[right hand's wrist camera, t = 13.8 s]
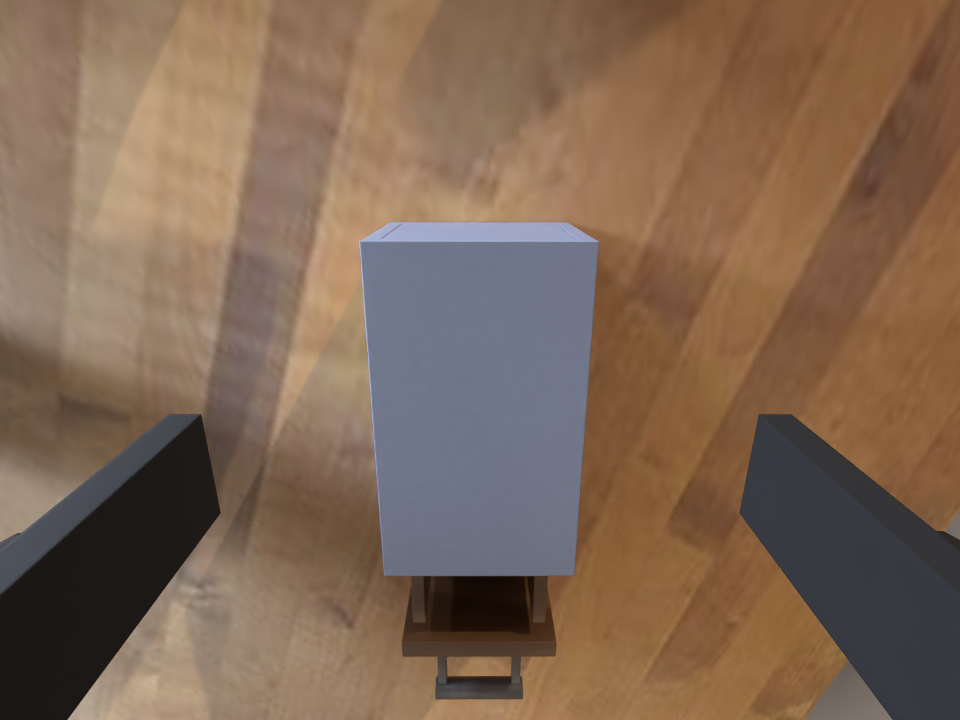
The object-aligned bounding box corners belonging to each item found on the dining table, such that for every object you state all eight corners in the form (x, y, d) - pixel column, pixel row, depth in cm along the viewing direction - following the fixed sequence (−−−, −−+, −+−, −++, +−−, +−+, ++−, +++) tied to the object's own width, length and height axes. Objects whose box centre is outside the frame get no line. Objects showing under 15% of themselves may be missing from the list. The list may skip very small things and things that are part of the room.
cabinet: (553, 488, 40) (574, 576, 31) (404, 488, 40) (383, 576, 31) (568, 222, 33) (599, 241, 25) (389, 222, 33) (359, 241, 25)
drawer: (540, 636, 43) (551, 722, 36) (417, 636, 43) (406, 722, 36) (554, 355, 35) (572, 400, 28) (404, 355, 35) (386, 400, 28)
